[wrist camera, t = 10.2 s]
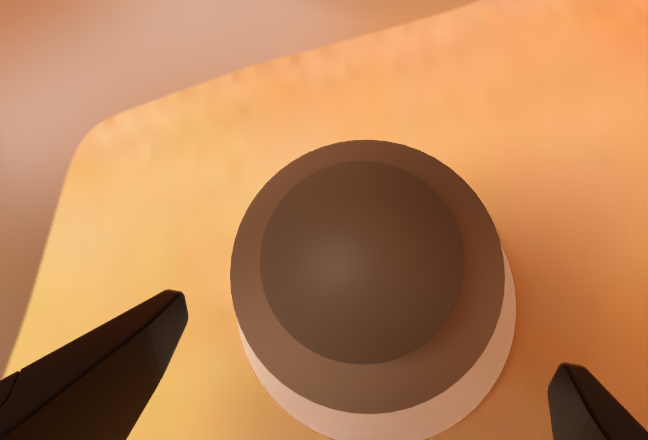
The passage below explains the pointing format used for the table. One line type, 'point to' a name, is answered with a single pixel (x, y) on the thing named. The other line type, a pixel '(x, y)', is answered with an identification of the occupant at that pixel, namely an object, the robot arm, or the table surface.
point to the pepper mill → (367, 276)
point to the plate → (416, 422)
